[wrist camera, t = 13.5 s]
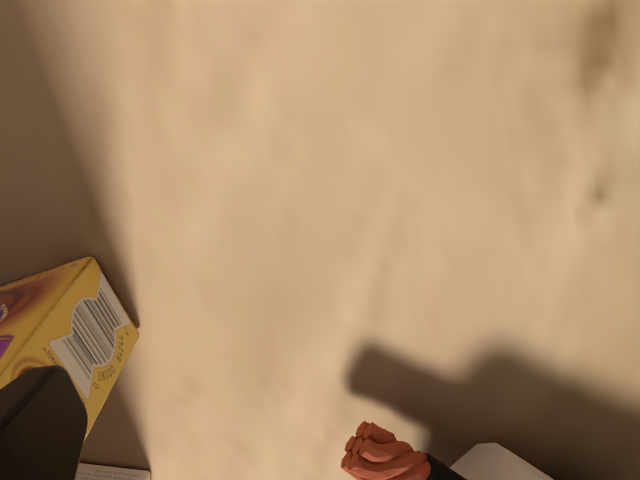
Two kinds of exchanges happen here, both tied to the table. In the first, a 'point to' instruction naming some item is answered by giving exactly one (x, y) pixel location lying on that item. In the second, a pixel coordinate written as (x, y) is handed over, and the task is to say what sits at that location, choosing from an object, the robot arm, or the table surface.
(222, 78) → the table surface
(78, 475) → the cardboard box
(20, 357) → the candy box
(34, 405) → the robot arm
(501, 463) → the white black banded bottle
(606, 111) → the table surface
